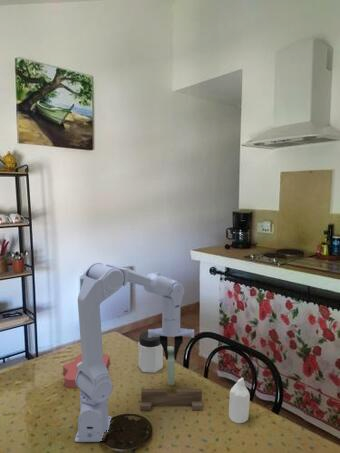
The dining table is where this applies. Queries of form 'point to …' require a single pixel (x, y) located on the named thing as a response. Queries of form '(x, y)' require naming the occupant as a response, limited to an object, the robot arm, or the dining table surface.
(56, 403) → the dining table surface
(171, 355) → the slotted plate
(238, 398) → the bottle
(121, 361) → the dining table surface
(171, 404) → the walnut stand
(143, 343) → the jar
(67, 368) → the plaque
